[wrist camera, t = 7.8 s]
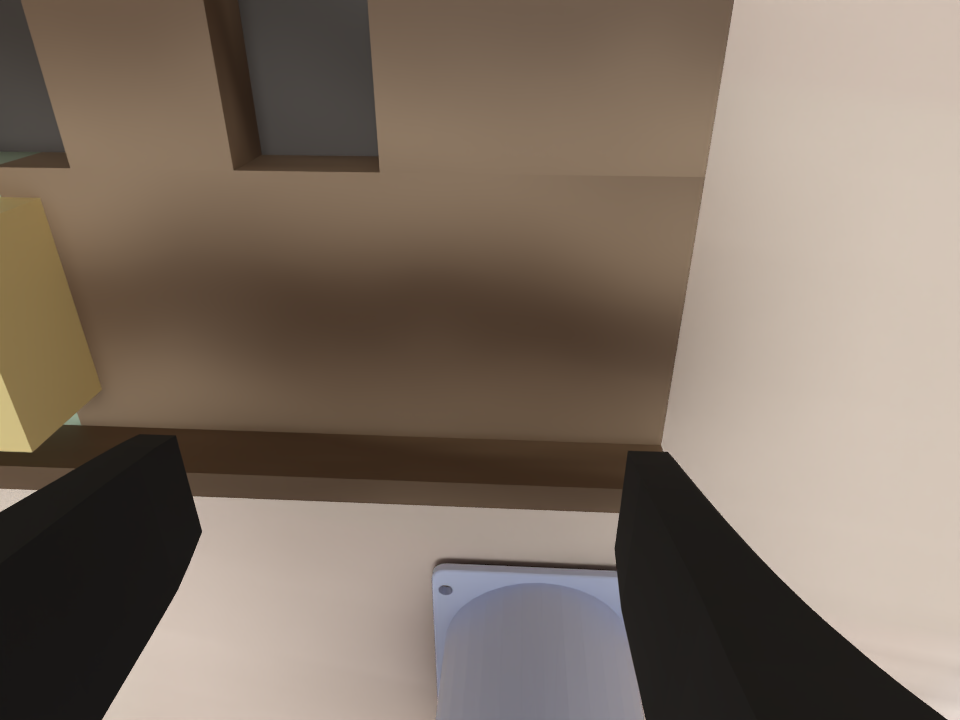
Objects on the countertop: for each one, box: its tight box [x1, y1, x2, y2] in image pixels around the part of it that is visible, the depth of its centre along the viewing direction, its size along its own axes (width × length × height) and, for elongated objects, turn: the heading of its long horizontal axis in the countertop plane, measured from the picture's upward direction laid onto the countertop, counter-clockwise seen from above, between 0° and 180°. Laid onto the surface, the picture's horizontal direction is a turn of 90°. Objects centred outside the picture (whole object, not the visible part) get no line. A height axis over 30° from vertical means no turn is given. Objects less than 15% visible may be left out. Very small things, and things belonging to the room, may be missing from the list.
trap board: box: [0, 0, 734, 513], centre depth 16 cm, size 16×23×5 cm
